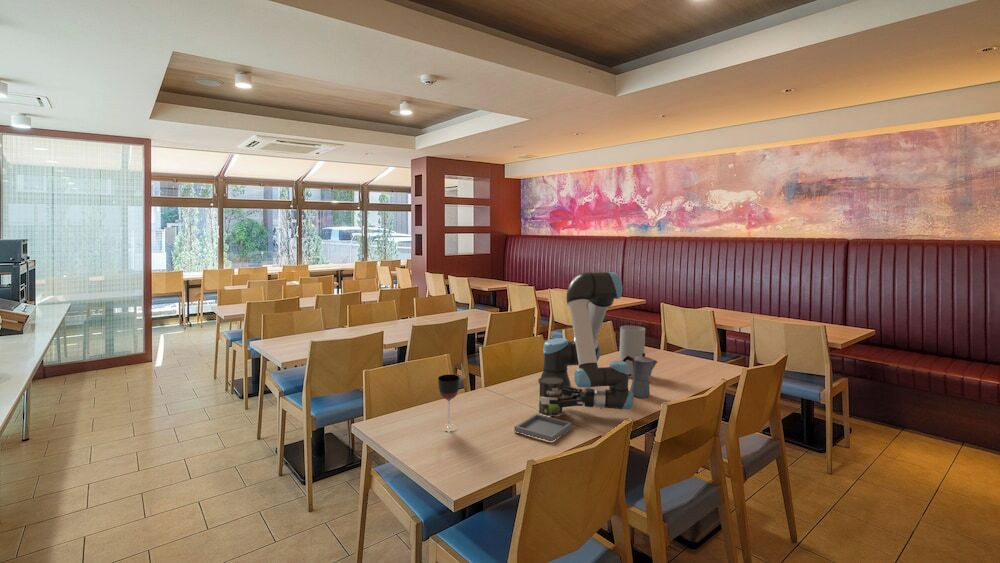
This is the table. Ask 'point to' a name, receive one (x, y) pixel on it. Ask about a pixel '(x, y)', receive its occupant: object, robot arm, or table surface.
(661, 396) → the table surface
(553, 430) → the slate tray
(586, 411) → the table surface
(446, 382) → the wineglass
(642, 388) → the moka pot
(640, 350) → the cylinder vase
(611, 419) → the table surface
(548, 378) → the coffee can
